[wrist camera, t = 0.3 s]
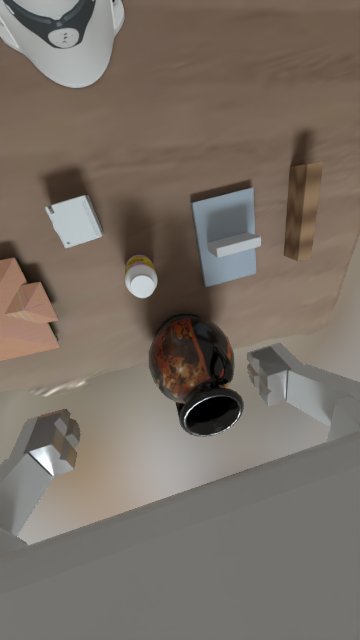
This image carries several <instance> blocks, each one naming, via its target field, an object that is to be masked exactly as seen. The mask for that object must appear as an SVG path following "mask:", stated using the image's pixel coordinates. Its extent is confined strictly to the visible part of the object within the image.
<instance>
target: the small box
mask: <svg viewBox="0 0 360 640" xmlns="http://www.w3.org/2000/svg"><path fill="white" fill-rule="evenodd" d="M45 209H46V211H47V213H48V215H49V217H50V219H51V221H52V223H53V226H54V229H55V231H56V232H57V233H58V235H59V237H60V239H61V241H62V243H63V244H64V246H65V248H69V247H72V246H75V245H78V244H81V243H84V242H87V241H90V240H93V239H96V238H99V237H102V235H103V234H104V232H103V230H102V227H101V225H100V223H99V220H98V218H97V215H96V213H95V211H94V208H93V206H92V203H91V201H90V198H89V196H88V195H83V196H79V197H76V198H72V199H69V200H65V201H62V202H58V203H55V204H52V205H48V206H45Z"/></svg>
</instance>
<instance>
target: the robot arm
mask: <svg viewBox="0 0 360 640" xmlns="http://www.w3.org/2000/svg"><path fill="white" fill-rule="evenodd" d="M124 18H125V14H124V8H123V4H122V1H121V0H115V2H114V3H113V2H112V0H0V37H1V38H2V40H3V41H4V42H5V43H6V44H7V45H9V46H10V47H12V48H13V49H15V50H17V51H19V52H21V53H23V54H24V55H25V56H27V57H28V58H29V59H30V60H31V61H32V63H33V64H34V65H35V66H36V67H37V68H38V69H39V70H40V71H41V72H42V73H43V74H45V75H46V76H47V77H48V78H50V79H51V80H53V81H55V82H57V83H59V84H61V85H64V86H67V87H72V88H81V87H85V86H88V85H90V84H92V83H94V82H95V81H97V80H98V79H99V78H100V77H101V75H102V74H103V73H104V71H105V69H106V67H107V65H108V63H109V60H110V56H111V52H112V46H113V41H114V38H115V36H116V34H117V33H118V31H119V30H120V28H121V26H122V24H123V22H124ZM247 360H248V362H249V365H248V367H247V369H248V374H249V378H250V380H251V382H252V383H253V385H254V387H257V388H259V391H260V395H261V397H262V398H263V400H264V401H265V403H266V404H267V406H269V405H273V404H277V403H280V402H283V401H287V402H288V403H290V404H291V405H293V406H295V407H296V408H298V409H300V410H302V411H303V412H305V413H307V414H309V415H310V416H312V417H313V418H315V419H317V420H319V421H320V422H322V423H324V424H325V425H327V426H329V427H330V431H329V435H328V439H327V442H325V443H322V444H320V445H317V446H314V447H311V448H308V449H305V450H302V451H300V452H297V453H294V454H291V455H288V456H285V457H282V458H279V459H277V460H273V461H271V462H268V463H265V464H262V465H259V466H256V467H254V468H251V469H247V470H245V471H242V472H239V473H236V474H233V475H230V476H227V477H225V478H221V479H219V480H216V481H213V482H210V483H207V484H204V485H201V486H199V487H196V488H193V489H190V490H187V491H184V492H182V493H178V494H175V495H172V496H170V497H167V498H164V499H161V500H158V501H155V502H152V503H149V504H147V505H144V506H141V507H138V508H135V509H132V510H129V511H126V512H124V513H121V514H118V515H115V516H112V517H109V518H106V519H103V520H101V521H98V522H95V523H92V524H89V525H86V526H83V527H80V528H78V529H75V530H72V531H69V532H66V533H63V534H60V535H57V536H55V537H52V538H49V539H46V540H43V541H40V542H37V543H34V544H31V545H29V546H28V545H27V543H26V542H24V541H23V540H21V539H20V538H18V537H17V535H18V534H19V532H20V530H21V529H22V527H23V526H24V524H25V523H26V521H27V519H28V518H29V516H30V514H31V513H32V511H33V509H34V508H35V506H36V505H37V503H38V502H39V500H40V498H41V497H42V495H43V494H44V492H45V490H46V488H47V487H48V486H49V484H50V482H51V481H52V479H53V477H54V476H57V475H60V474H63V473H66V472H68V471H71V470H73V469H74V467H75V462H76V457H77V452H76V450H75V447H76V446H77V445H78V443H79V441H80V428H79V425H78V423H77V422H76V420H73V419H71V418H70V412H69V411H68V410H67V409H62V410H59V411H55V412H52V413H48V414H44V415H41V416H38V417H34V418H31V419H28V420H27V421H26V422H25V423H24V426H23V428H22V430H21V432H20V435H19V437H18V439H17V442H16V444H15V446H14V448H13V450H12V453H11V455H10V457H9V459H7V460H4V461H3V462H2V464H1V465H0V640H360V382H357V381H354V380H351V379H349V378H345V377H343V376H340V375H337V374H334V373H331V372H328V371H325V370H322V369H319V368H316V367H313V366H310V365H303V364H302V363H301V362H300V361H299V360H298V359H297V358H296V357H295V356H294V355H292V354H291V353H290V352H289V351H288V350H287V349H286V348H285V347H284V346H283V345H282V344H281V343H276V344H273V345H270V346H267V347H264V348H261V349H258V350H254V351H251V352H248V353H247Z"/></svg>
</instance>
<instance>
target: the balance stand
mask: <svg viewBox="0 0 360 640" xmlns="http://www.w3.org/2000/svg"><path fill="white" fill-rule="evenodd" d="M191 207H192V214H193V220H194V226H195V232H196V238H197V244H198V250H199V257H200V263H201V269H202V275H203V281H204V286H205V287H209V286H213V285H216V284H220V283H223V282H227V281H230V280H234V279H237V278H241V277H245V276H248V275H252V274H255V273H256V256H255V248H256V247H260V246H261V237H260V236H257V235H255V223H254V191H253V188H247V189H243V190H239V191H235V192H231V193H227V194H223V195H219V196H215V197H211V198H208V199H204V200H200V201H196V202H192V203H191Z"/></svg>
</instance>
